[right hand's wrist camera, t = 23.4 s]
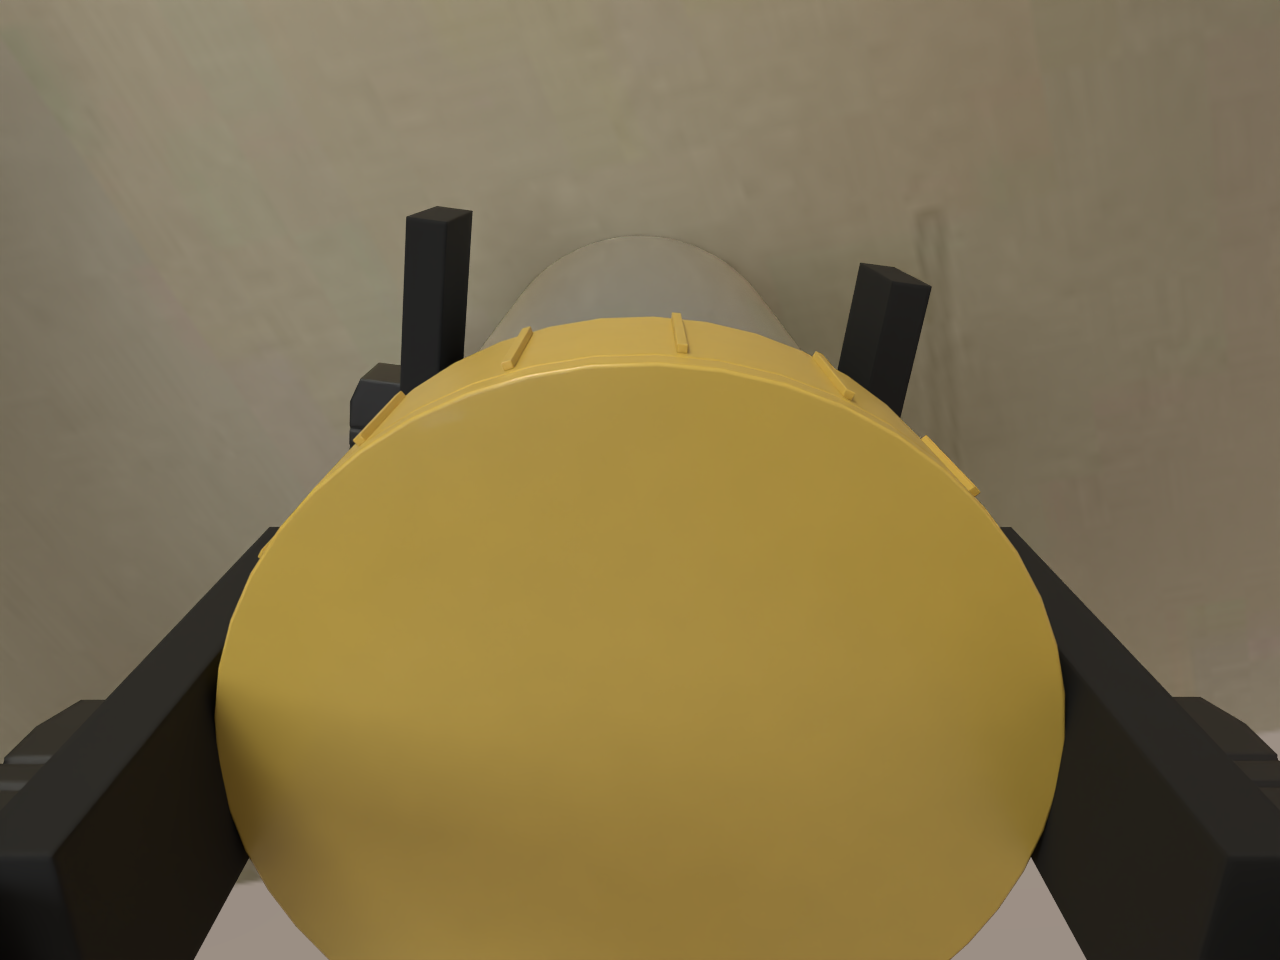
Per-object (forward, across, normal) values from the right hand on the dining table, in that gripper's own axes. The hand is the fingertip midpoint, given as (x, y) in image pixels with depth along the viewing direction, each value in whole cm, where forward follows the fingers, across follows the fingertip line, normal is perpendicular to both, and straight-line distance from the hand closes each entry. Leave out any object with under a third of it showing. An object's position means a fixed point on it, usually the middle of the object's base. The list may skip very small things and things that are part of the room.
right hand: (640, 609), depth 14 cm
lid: (-4, 0, 0) cm, 4 cm away
